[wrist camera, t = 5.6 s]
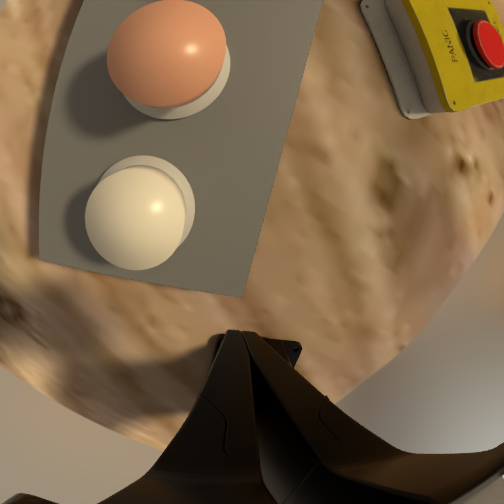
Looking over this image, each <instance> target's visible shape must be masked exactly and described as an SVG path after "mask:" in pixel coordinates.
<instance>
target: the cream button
mask: <svg viewBox="0 0 504 504" xmlns="http://www.w3.org/2000/svg"><path fill="white" fill-rule="evenodd" d="M185 219H186V203H185V199H184V195H183V193H182V190H181V189H180V187H179V185H178V184H177V183H176V181H175V180H174V179H173V178H172V177H171V176H170V175H168V174H167V173H166V172H164V171H162V170H161V169H158V168H156V167H153V166H149V165H134V166H129V167H126V168H124V169H122V170H119V171H118V172H116V173H114V174H112V175H110V176H108V177H106V178H105V179H104V180H102V181H101V182H100V183H99V184H98V185H97V186H96V188H95V189H94V190H93V192H92V193H91V195H90V197H89V200H88V202H87V206H86V211H85V225H86V230H87V234H88V237H89V239H90V241H91V243H92V245H93V246H94V248H95V249H96V251H97V252H98V253H99V254H100V255H101V256H102V257H103V258H104V259H105V260H107V261H108V262H110V263H111V264H113V265H115V266H118V267H120V268H123V269H127V270H146V269H150V268H153V267H155V266H158V265H159V264H161V263H163V262H164V261H166V260H167V259H168V258H169V257H170V256H171V255H172V254H173V253H174V251H175V250H176V248H177V247H178V245H179V243H180V240H181V238H182V234H183V229H184V224H185Z"/></svg>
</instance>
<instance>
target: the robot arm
mask: <svg viewBox="0 0 504 504" xmlns="http://www.w3.org/2000/svg"><path fill="white" fill-rule="evenodd" d="M221 341H222V342H221ZM295 347H297V348H296V349H294V348H295ZM301 351H302V346H301V344H300V343H299V342H296V341H283V340H275V339H265V338H261V337H260V336H259V335H258V334H257V333H255V332H251V331H242V332H241V331H239V330H227V332H226V334H222V335H220V336H218V338H217V341H216V345H215V349H214V353H213V357H212V361H211V365H210V370H209V372H208V375H207V377H206V379H205V381H204V384H203V386H202V388H201V390H200V393H199V395H198V397H197V399H196V401H195V403H194V405H193V407H192V409H191V411H190V413H189V415H188V417H187V419H186V420H185V422H184V423H183V425H182V427H181V428H180V430H179V431H178V432H177V434H176V435H175V437H174V438H173V439H172V441H171V442H170V444H169V445H168V446H167V448H166V449H165V450H164V452H163V453H162V455H161V456H160V457H159V459H158V460H157V461H156V462H155V464H154V465H153V466H152V467H151V469H150V470H149V471H148V472H147V473H146V474H145V475H144V476H142V477H141V478H140V479H138V480H137V481H135V482H134V483H132V484H130V485H129V486H127V487H125V488H124V489H122V490H120V491H119V492H117V493H115V494H114V495H112V496H110V497H108V498H107V499H105V500H103V501H101V502H100V503H98V504H504V479H503V478H502V475H503V474H504V443H502V444H500V445H499V446H497V447H496V448H493V449H491V450H488V451H482V452H475V453H458V454H416V453H409V452H405V451H402V450H400V449H397V448H395V447H394V446H392V445H390V444H389V443H387V442H386V441H384V440H383V439H381V438H380V437H378V436H377V435H375V434H373V433H372V432H371V431H369V430H368V429H366V428H365V427H363V426H362V425H360V424H359V423H358V422H356V421H355V420H353V419H352V418H351V417H349V416H348V415H347V414H345V413H344V412H343V411H342V410H341V409H339V408H338V407H337V406H336V405H334V404H333V403H332V402H331V401H330V400H329V398H328V397H327V395H326V396H324V395H323V394H322V393H321V392H319V391H318V390H317V389H316V388H315V387H314V386H313V385H312V384H311V383H309V382H308V381H307V380H306V379H305V378H304V377H303V376H302V375H301V374H299V373H298V372H297V371H296V370H295V369H294V366H295V364H296V362H297V360H298V358H299V355H300V353H301ZM2 504H58V503H55V502H52V501H49V500H46V499H43V498H40V497H37V496H34V495H30V494H23V493H19V494H15V495H14V496H12V497H11V498H10V499H8V500H7V501H5V502H4V503H2Z"/></svg>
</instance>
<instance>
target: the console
mask: <svg viewBox="0 0 504 504" xmlns="http://www.w3.org/2000/svg"><path fill="white" fill-rule="evenodd" d="M157 1H162V0H84V1H83V4H82V6H81V9H80V11H79V13H78V16H77V19H76V21H75V24H74V27H73V29H72V32H71V35H70V38H69V41H68V44H67V47H66V50H65V54H64V57H63V60H62V64H61V67H60V71H59V75H58V79H57V83H56V87H55V91H54V95H53V100H52V104H51V109H50V115H49V120H48V126H47V132H46V138H45V145H44V153H43V161H42V171H41V183H40V199H39V260H42V261H46V262H50V263H55V264H59V265H64V266H68V267H73V268H78V269H82V270H87V271H92V272H97V273H102V274H107V275H112V276H117V277H122V278H127V279H132V280H137V281H143V282H148V283H154V284H159V285H165V286H171V287H177V288H182V289H188V290H194V291H201V292H207V293H213V294H219V295H226V296H233V297H239V298H242V296H243V293H244V289H245V285H246V282H247V278H248V274H249V271H250V267H251V264H252V260H253V256H254V253H255V249H256V245H257V242H258V238H259V234H260V231H261V227H262V223H263V220H264V216H265V212H266V209H267V205H268V202H269V198H270V194H271V191H272V187H273V183H274V180H275V176H276V172H277V169H278V165H279V161H280V158H281V154H282V150H283V147H284V143H285V139H286V135H287V132H288V128H289V124H290V121H291V117H292V113H293V110H294V106H295V102H296V99H297V95H298V91H299V88H300V84H301V80H302V76H303V73H304V69H305V65H306V62H307V58H308V54H309V50H310V47H311V43H312V39H313V36H314V32H315V28H316V24H317V21H318V17H319V13H320V10H321V6H322V2H323V0H186V1H190V2H193V3H197V4H199V5H201V6H203V7H204V8H206V9H207V10H209V11H210V12H211V13H212V14H213V15H214V16H215V17H216V18H217V19H218V20H219V22H220V24H221V25H222V28H223V30H224V33H225V37H226V54H225V58H224V62H223V65H222V69H221V72H220V74H219V76H218V78H217V80H216V82H215V83H214V85H213V86H212V87H211V88H210V89H209V90H208V92H206V93H205V94H204V95H203V96H202V97H200V98H199V99H197V100H195V101H194V102H192V103H190V104H187V105H184V106H181V107H177V108H171V109H161V108H154V107H150V106H147V105H144V104H142V103H139V102H137V101H134V100H132V99H130V98H128V97H127V96H126V95H124V94H123V93H122V92H121V91H120V90H119V89H118V88H117V87H116V86H115V84H114V83H113V81H112V79H111V77H110V75H109V72H108V67H107V52H108V47H109V44H110V41H111V39H112V36H113V35H114V33H115V31H116V30H117V28H118V27H119V25H120V24H121V23H122V22H123V21H124V20H125V19H126V18H127V17H128V16H129V15H131V14H132V13H133V12H135V11H136V10H138V9H140V8H142V7H144V6H146V5H148V4H151V3H154V2H157ZM134 165H149V166H153V167H156V168H158V169H161V170H162V171H164V172H166V173H167V174H168V175H170V176H171V177H172V178H173V179H174V180H175V181H176V183H177V184H178V185H179V187H180V189H181V190H182V193H183V195H184V199H185V203H186V219H185V224H184V229H183V234H182V238H181V240H180V243H179V245H178V247H177V248H176V250H175V251H174V253H173V254H172V255H171V256H170V257H169V258H168V259H167V260H166V261H164V262H163V263H161V264H159V265H158V266H155V267H153V268H150V269H146V270H127V269H123V268H120V267H118V266H115V265H113V264H111V263H110V262H108V261H107V260H105V259H104V258H103V257H102V256H101V255H100V254H99V253H98V252H97V251H96V249H95V248H94V246H93V245H92V243H91V241H90V239H89V237H88V234H87V230H86V225H85V211H86V206H87V202H88V200H89V197H90V195H91V193H92V192H93V190H94V189H95V188H96V186H97V185H98V184H99V183H100V182H101V181H102V180H104V179H105V178H106V177H108V176H110V175H112V174H114V173H116V172H118V171H119V170H122V169H124V168H126V167H129V166H134Z"/></svg>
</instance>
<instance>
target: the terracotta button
mask: <svg viewBox="0 0 504 504" xmlns="http://www.w3.org/2000/svg"><path fill="white" fill-rule="evenodd" d="M225 54H226V37H225V33H224V30H223V28H222V25H221V24H220V22H219V20H218V19H217V18H216V17H215V16H214V15H213V14H212V13H211V12H210V11H209V10H207V9H206V8H204V7H203V6H201V5H199V4H197V3H193V2H190V1H186V0H162V1H157V2H154V3H151V4H148V5H146V6H144V7H142V8H140V9H138V10H136V11H135V12H133V13H132V14H131V15H129V16H128V17H127V18H126V19H125V20H124V21H123V22H122V23H121V24H120V25H119V27H118V28H117V30H116V31H115V33H114V35H113V36H112V39H111V41H110V44H109V47H108V52H107V67H108V72H109V75H110V77H111V79H112V81H113V83H114V84H115V86H116V87H117V88H118V89H119V90H120V91H121V92H122V93H123V94H124V95H126V96H127V97H128V98H130V99H132V100H134V101H137V102H139V103H142V104H144V105H147V106H150V107H154V108H161V109H171V108H177V107H181V106H184V105H187V104H190V103H192V102H194V101H195V100H197V99H199V98H200V97H202V96H203V95H204V94H205V93H206V92H208V90H209V89H210V88H211V87H212V86H213V85H214V83H215V82H216V80H217V78H218V76H219V74H220V72H221V69H222V65H223V62H224V58H225Z"/></svg>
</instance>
